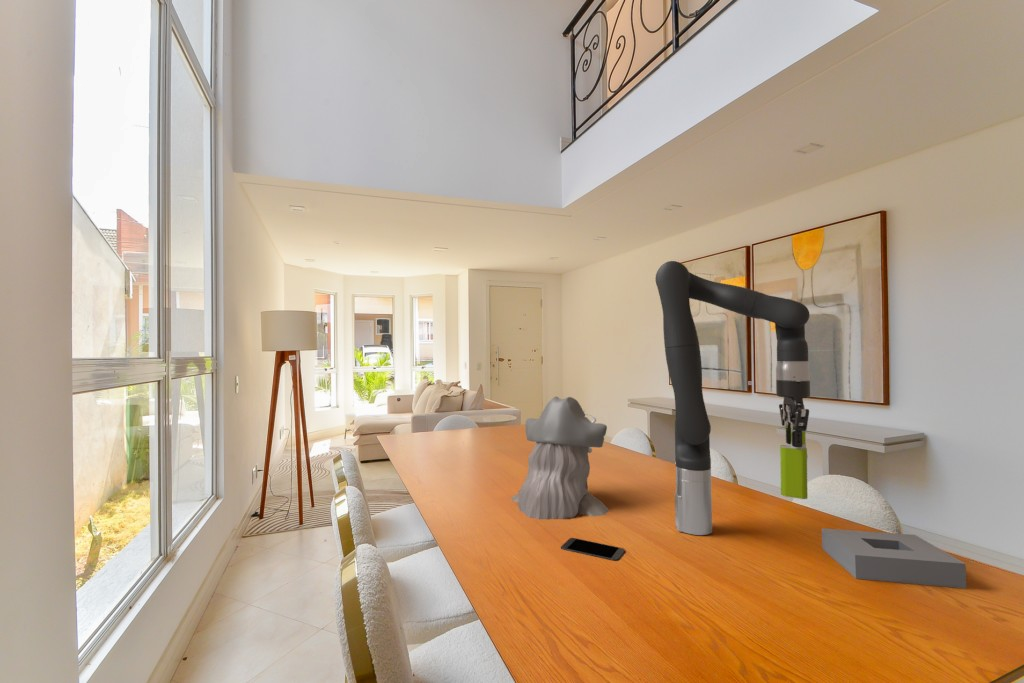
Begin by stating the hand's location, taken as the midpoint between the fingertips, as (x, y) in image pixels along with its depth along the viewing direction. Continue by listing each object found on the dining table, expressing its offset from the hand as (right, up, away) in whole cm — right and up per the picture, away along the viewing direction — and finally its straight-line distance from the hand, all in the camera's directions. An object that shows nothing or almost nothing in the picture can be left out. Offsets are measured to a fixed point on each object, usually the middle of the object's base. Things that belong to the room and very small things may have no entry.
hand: (794, 445), depth 117 cm
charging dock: (+13, -25, -14) cm, 31 cm away
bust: (-58, -27, +33) cm, 71 cm away
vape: (0, -13, 0) cm, 13 cm away
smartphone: (-53, -26, -4) cm, 59 cm away
